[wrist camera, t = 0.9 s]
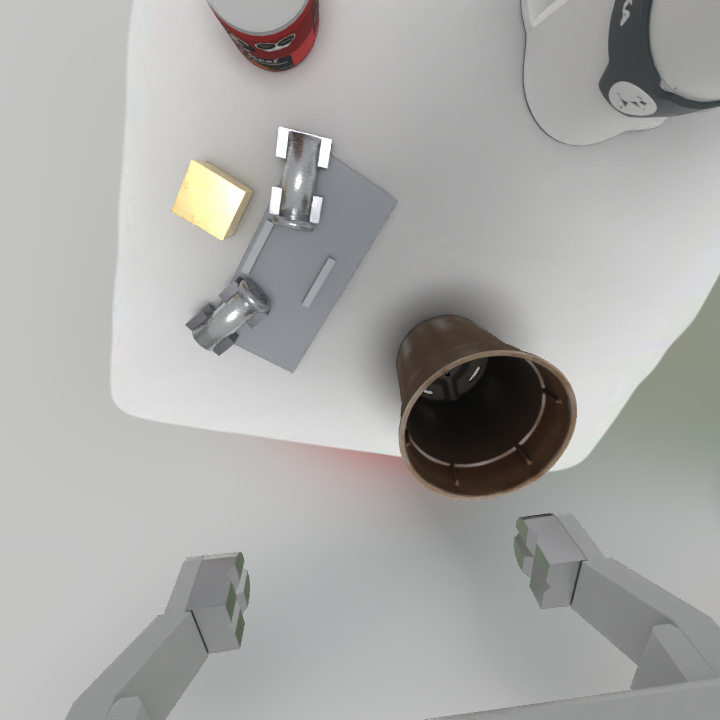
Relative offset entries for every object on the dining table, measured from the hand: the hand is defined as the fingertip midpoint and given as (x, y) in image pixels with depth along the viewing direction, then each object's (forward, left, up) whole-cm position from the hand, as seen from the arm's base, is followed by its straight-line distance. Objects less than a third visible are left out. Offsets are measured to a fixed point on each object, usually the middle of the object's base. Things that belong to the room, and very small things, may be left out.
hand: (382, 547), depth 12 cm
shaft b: (+9, -8, -36) cm, 38 cm away
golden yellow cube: (0, -15, -36) cm, 39 cm away
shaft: (-6, -8, -35) cm, 37 cm away
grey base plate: (+2, -6, -36) cm, 37 cm away
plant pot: (+3, +16, -37) cm, 40 cm away
